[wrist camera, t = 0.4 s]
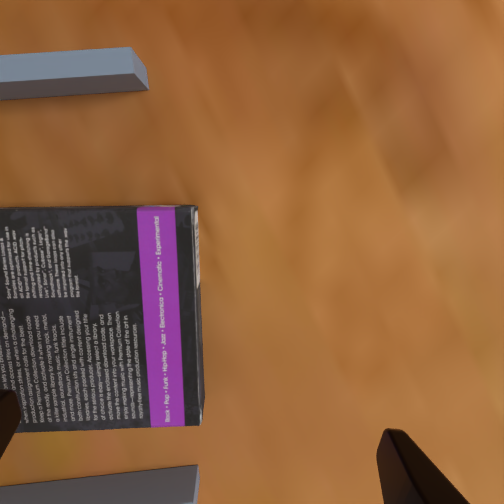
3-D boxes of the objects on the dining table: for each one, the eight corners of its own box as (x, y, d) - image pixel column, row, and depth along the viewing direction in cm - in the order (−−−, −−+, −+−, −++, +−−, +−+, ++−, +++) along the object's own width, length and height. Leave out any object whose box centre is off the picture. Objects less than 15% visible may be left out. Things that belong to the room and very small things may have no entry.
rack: (199, 478, 25) (195, 517, 22) (-47, 506, 24) (-86, 550, 21) (146, 67, 19) (130, 47, 17) (-176, 89, 19) (-252, 71, 16)
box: (200, 203, 22) (-117, 204, 21) (196, 206, 19) (-186, 207, 17) (205, 394, 25) (-78, 407, 23) (202, 428, 21) (-131, 445, 20)
